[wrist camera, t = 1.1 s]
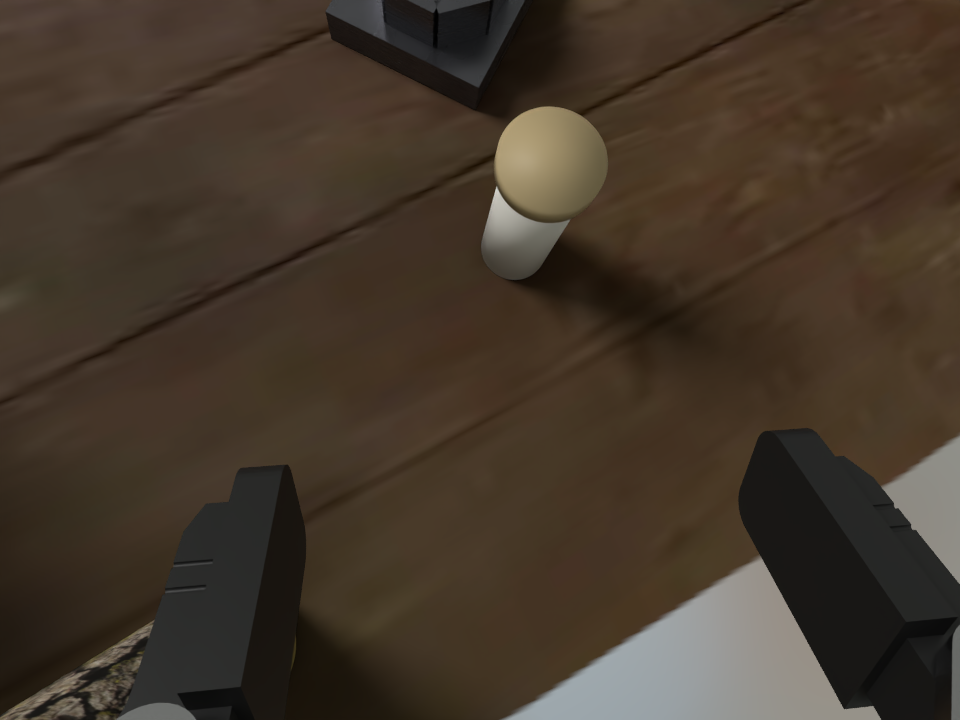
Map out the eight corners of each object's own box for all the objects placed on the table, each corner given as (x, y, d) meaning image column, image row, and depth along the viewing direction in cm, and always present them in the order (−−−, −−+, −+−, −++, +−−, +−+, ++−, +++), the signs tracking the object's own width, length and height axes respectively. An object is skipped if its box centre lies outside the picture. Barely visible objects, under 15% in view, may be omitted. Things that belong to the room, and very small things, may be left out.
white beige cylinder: (461, 264, 39) (477, 181, 27) (495, 197, 39) (525, 88, 28) (532, 299, 39) (580, 232, 27) (564, 232, 40) (625, 137, 28)
